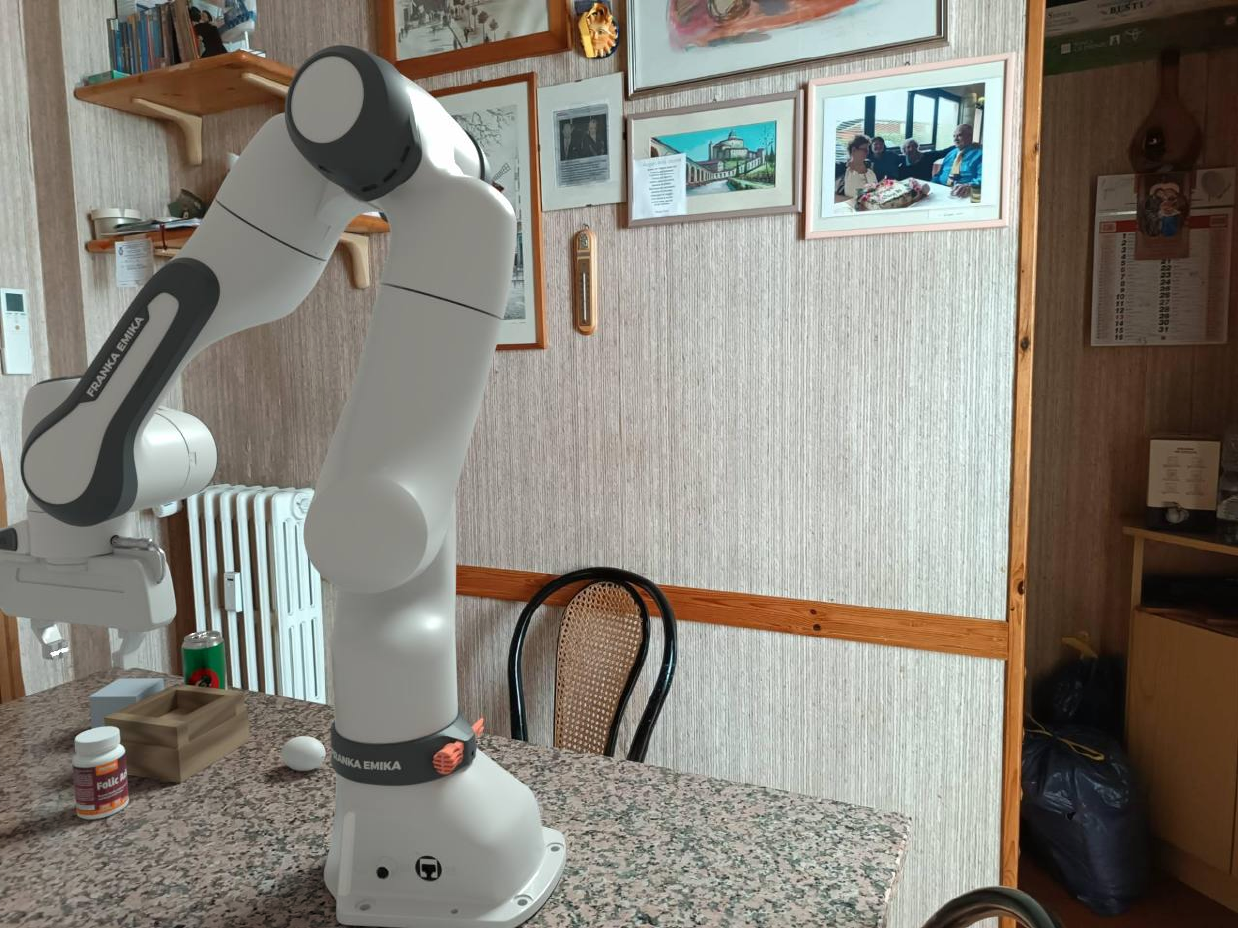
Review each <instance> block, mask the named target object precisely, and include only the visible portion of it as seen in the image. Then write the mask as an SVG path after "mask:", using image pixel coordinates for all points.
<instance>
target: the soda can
mask: <svg viewBox="0 0 1238 928" xmlns="http://www.w3.org/2000/svg"><path fill="white" fill-rule="evenodd" d="M221 634H222V633H221V632H220V631H218V630H203V631H197V632H194V633H190V634H188V635H186V636H184V638H183V640H184V641H183V642H182V645H181V646H180V647H181V649H180V650H181V662H182V675H183V685H190V686H199V687H207V688H216V689H225V690H229V689H228V687H229V686H228V675H227V674H228V673H227V662H226V658H227V657H226V645H225V639H224V638H223V637H222V636H221Z"/></svg>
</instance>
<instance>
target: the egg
mask: <svg viewBox="0 0 1238 928" xmlns="http://www.w3.org/2000/svg"><path fill="white" fill-rule="evenodd" d="M280 754H281V759H282V761H283V763H284V764H285V765H286V766H287V767H289V768H291V769H292V770H295V771H299V772H308V771H312V770H315V769H317V768H318V767H320V766H321V764H323V762H324V761H325V758H326V748H325V747H324V744H323V743H322V742H321V741H320V740H318V739H316V738H315V737H312V736H309V735H308V736H307V735H306V736H304V735H301V736H300V735H299V736H296V737H293V738H291V739H289V740H288V741H287V742H285V744H284V745H283V746H282V749H281V753H280Z"/></svg>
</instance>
